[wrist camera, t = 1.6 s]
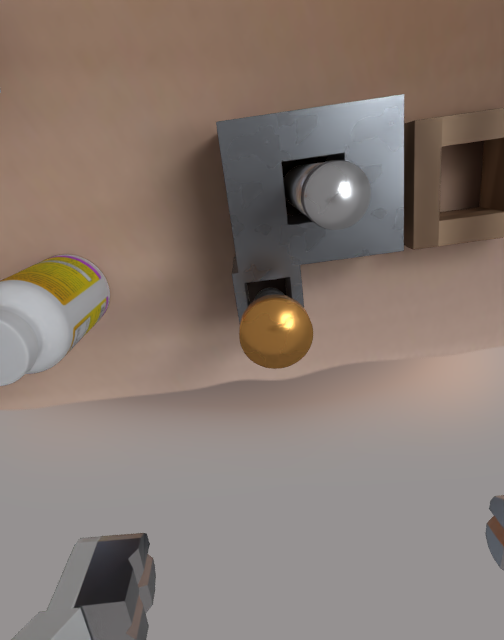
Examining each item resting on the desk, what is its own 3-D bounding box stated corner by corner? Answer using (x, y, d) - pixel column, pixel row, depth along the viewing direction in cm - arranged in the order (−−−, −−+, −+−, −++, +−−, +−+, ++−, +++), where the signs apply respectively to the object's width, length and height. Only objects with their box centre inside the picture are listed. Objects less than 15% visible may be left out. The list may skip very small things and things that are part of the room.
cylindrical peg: (322, 160, 32) (370, 155, 20) (325, 205, 33) (372, 226, 21) (279, 167, 32) (301, 165, 20) (284, 211, 33) (307, 235, 21)
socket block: (374, 108, 31) (404, 94, 25) (378, 292, 36) (403, 315, 30) (214, 131, 31) (208, 123, 25) (242, 310, 36) (241, 336, 31)
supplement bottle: (26, 257, 34) (-92, 305, 22) (101, 248, 34) (23, 290, 22) (49, 328, 37) (-46, 406, 25) (120, 320, 36) (59, 394, 24)
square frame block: (510, 109, 31) (547, 101, 27) (500, 226, 34) (531, 233, 30) (394, 126, 31) (414, 120, 27) (395, 240, 34) (413, 249, 31)
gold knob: (296, 270, 29) (310, 295, 23) (302, 326, 30) (315, 363, 24) (236, 278, 29) (234, 305, 23) (244, 334, 30) (244, 372, 25)
